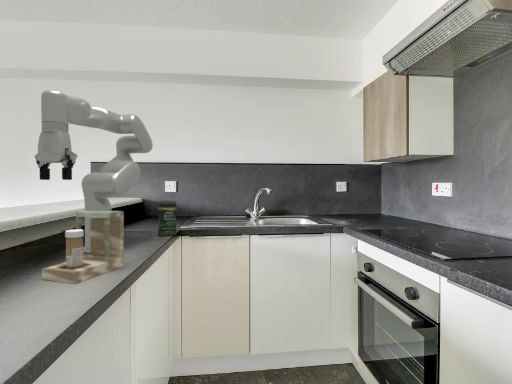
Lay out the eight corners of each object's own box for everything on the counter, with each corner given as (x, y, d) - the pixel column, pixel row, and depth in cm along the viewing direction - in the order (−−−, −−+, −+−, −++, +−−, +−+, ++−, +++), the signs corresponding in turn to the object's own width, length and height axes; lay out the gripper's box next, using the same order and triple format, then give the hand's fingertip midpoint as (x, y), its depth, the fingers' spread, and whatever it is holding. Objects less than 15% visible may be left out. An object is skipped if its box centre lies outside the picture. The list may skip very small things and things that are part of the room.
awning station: (94, 263, 98) (93, 210, 98) (123, 266, 95) (123, 211, 94) (41, 279, 81) (41, 215, 80) (75, 283, 78) (75, 216, 77)
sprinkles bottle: (63, 276, 84) (63, 229, 84) (81, 272, 87) (80, 228, 87) (68, 279, 81) (67, 231, 81) (86, 275, 84) (85, 229, 84)
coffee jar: (158, 237, 149) (158, 201, 149) (157, 234, 156) (157, 200, 156) (177, 235, 152) (177, 200, 152) (176, 233, 160) (176, 200, 159)
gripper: (24, 128, 97) (25, 179, 97) (65, 125, 92) (65, 179, 92) (46, 132, 104) (47, 180, 104) (85, 130, 99) (85, 180, 99)
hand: (55, 179), depth 98 cm, fingers open, 9 cm apart
